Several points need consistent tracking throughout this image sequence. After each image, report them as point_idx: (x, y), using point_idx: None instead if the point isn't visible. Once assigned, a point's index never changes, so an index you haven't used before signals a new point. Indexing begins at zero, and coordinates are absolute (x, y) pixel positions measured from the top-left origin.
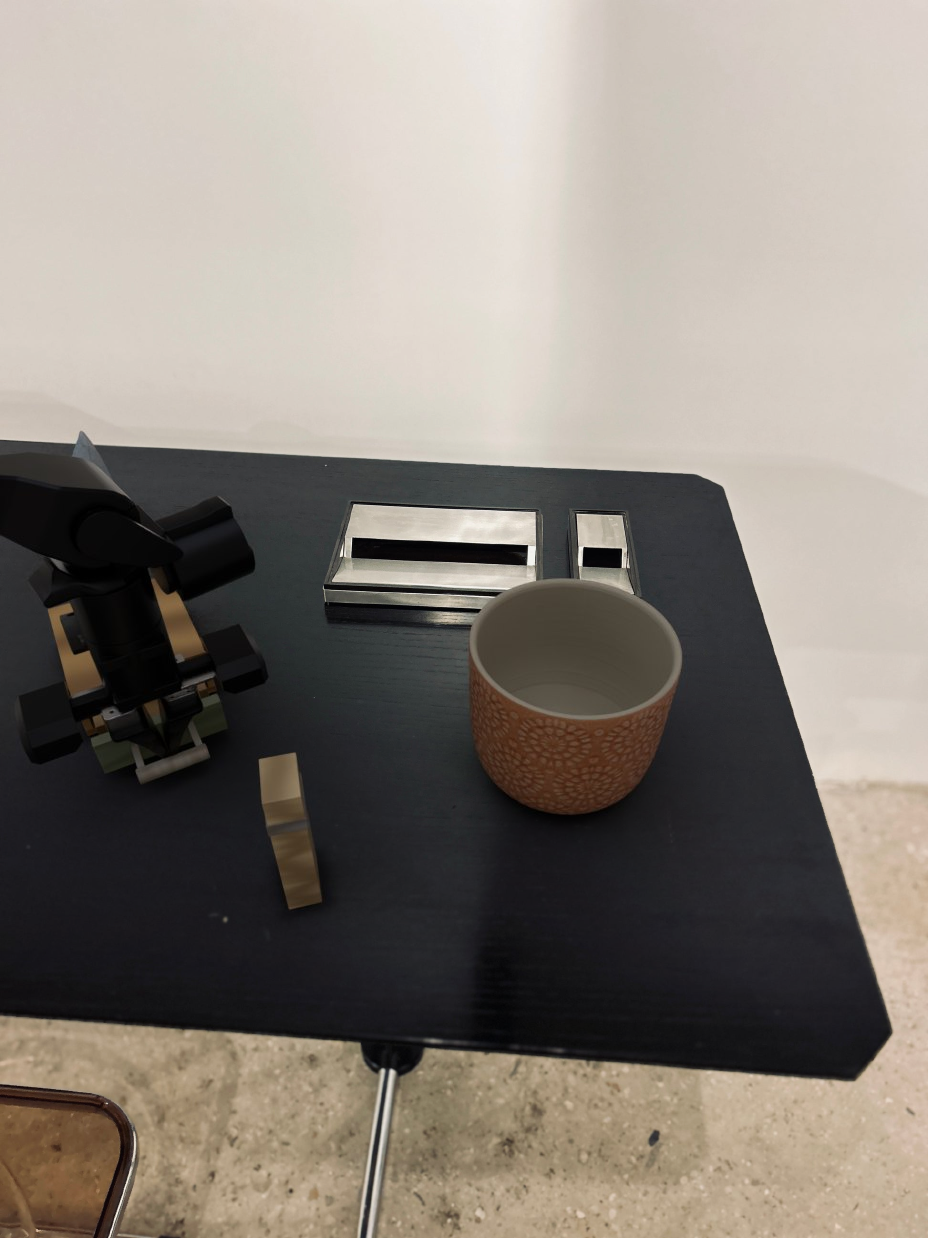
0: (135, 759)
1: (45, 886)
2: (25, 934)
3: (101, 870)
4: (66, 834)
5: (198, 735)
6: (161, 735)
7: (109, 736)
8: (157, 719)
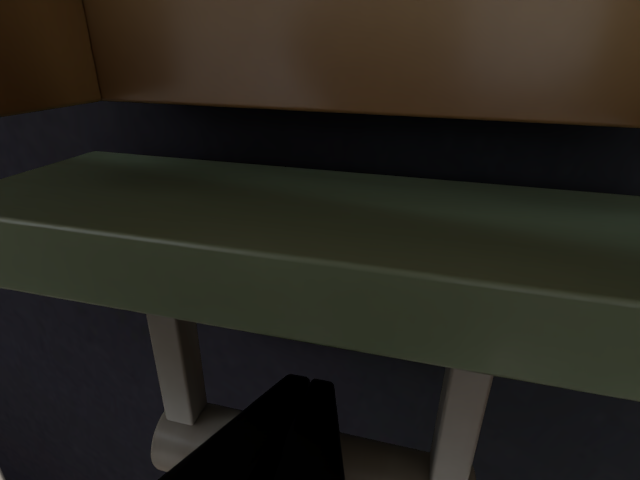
0: (160, 376)
1: (21, 393)
2: (8, 449)
3: (121, 431)
4: (39, 304)
5: (474, 445)
6: (267, 457)
7: (2, 260)
8: (279, 304)
